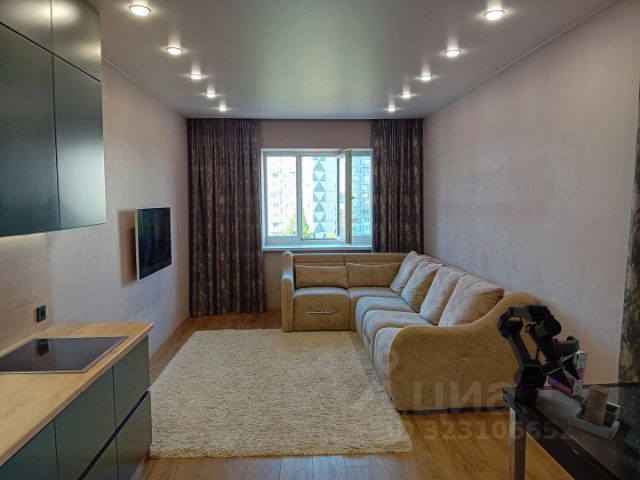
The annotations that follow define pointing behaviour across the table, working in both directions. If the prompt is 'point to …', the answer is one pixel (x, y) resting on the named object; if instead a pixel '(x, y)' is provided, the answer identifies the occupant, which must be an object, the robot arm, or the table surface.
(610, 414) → the trap bin
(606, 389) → the walnut block
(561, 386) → the candy bar box
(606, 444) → the table surface
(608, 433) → the grey shallow tray
